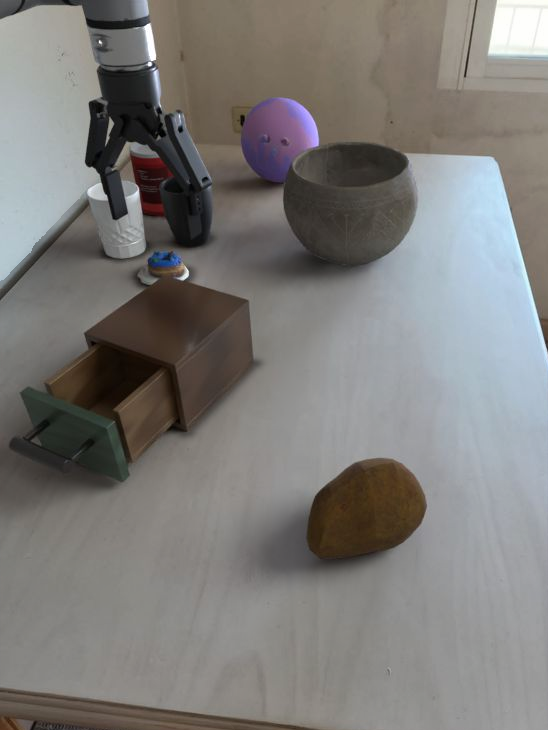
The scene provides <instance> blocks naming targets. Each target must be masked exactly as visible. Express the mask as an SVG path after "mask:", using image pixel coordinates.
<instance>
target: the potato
mask: <svg viewBox="0 0 548 730" xmlns="http://www.w3.org/2000/svg"><path fill="white" fill-rule="evenodd" d="M427 507H428V504H427V498H426V494H425V492H424V490H423V488H422V486H421V484H420V481H419V480H418V478H417V477H416V475H415V474H414V473H413V472H412V471H411V470H410V469H409V468H408V467H407V466H406V465H404V464H403V463H402V462H400V461H398V460H396V459H394V458H388V457H374V458H366V459H361V460H358V461H354V462H353V463H351V464H350V465H349V466H347V467H346V468H344V470H342V471H341V472H340V473H339V474H338V475H336V476H335V477H334V478H333V479H332V480H330V481H329V482H328V483H326V484H325V485H324V486H323V487H322V488H321V489H320V490H319V491H318V492H317V493H316V494H315V496H314V497H313V501H312V504H311V507H310V511H309V514H308V519H307V528H306V542H307V546H308V549H309V551H310V552H311V553H312V554H314V555H315V556H316V557H318V558H319V559H320V560H321V559H322V560H335V559H345V558H350V557H356V556H360V555H363V554H364V555H365V554H369V553H374V552H383V551H387V550H390V549H393V548H396V547H398V546H400V545H402V544H403V543H405V541H407V540H408V539H409V538H410V537H412V535H413V534H414V533H415V532H416V530H417V529H418V528H419V527H420V526H421V525H422V523H423V520H424V518H425V515H426V512H427V509H428V508H427Z"/></svg>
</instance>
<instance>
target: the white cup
mask: <svg viewBox="0 0 548 730" xmlns="http://www.w3.org/2000/svg"><path fill="white" fill-rule="evenodd" d="M121 182H122V186H123V191H124V196H125V200H126V205H127V210H128V214H127V215H125V216H123V217H122V218H120V219H118V220H113V219H112V215H111V211H110V206H109V202H108V198H107V195H105V193H104V191H103V187H102V183H101V182H98V183H96V184H93V185H92V186H90V187H89V188H88V189H87V190H86V196H87V199H88V203H89V207H90V210H91V213H92V218H93V220H94V223H95V227H96V229H97V232H98V236H99V238H100V240H101V243H102V248H103V250H104V252H105V255H106V256H108V257H111V258H112V259H131V258H135V257H137V256H140V255H141V254H143V253H144V252H145V250H146V248H147V240H146V234H145V223H144V216H143V210H142V207H141V201H140V194H139V187H138V186H137V185H136V183H135V182H132V181H129V180H123V179H121Z"/></svg>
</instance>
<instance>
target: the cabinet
mask: <svg viewBox="0 0 548 730" xmlns="http://www.w3.org/2000/svg"><path fill="white" fill-rule="evenodd" d="M250 311H251V310H250V300H249V299H246V298H243V297H240V296H236V295H233V294H230V293H226V292H223V291H220V290H216V289H213V288H209V287H206V286H203V285H200V284H196V283H193V282H190V281H185V280H179V279H176V278H173V277H169V276H166V275H164V276H163V277H161V278H160V279H158V280H157V281H156V282H154V283H153V284H151V285H149V286H147V287H146V288H144V289H143V290H142V291H140V292H138V293H137V294H136V295H134V296H133V297H132V298H130V299H128V300H127V301H126V302H124V303H123V304H122V305H120V306H119V307H118V308H116V309H115V310H113V311H112V312H111V313H110V314H108V315H107V316H105V317H104V318H102V319H100V321H99V322H97V323H96V324H94V325H92V326H91V327H89V329H87V330H86V331H84V332H83V336H84V339H85V342H86V346H87V350H88V349H89V348H91V347H92V346H93V345H95V344H96V343H99V344H102V345H105V346H107V347H110V348H113V349H116V350H119V351H122V352H124V353H127V354H130V355H133V356H136V357H138V358H141V359H144V360H147V361H150V362H152V363H155V364H158V365H161V366H164V367H166V368H169V369H170V370H171V375H172V380H173V385H174V391H175V396H176V401H177V406H178V412H179V418H178V419H177V420H176V421H175V422H174V423H173V424H172V425H171V427H175V428H177V429H180V430H183V431H185V432H189V430H190V429H191V428H193V426H194V425H195V424H196V423H197V422H198V421H199V420H200V419H201V418H202V417H203V416H205V414H206V413H207V412H208V411H209V410H210V409H211V408H212V407H214V405H216V403H217V402H218V401H219V400H220V399H221V398H222V397H223V396H224V395H225V394H226V393H227V392H228V391H229V390H230V389H231V387H233V386H234V385H235V384H236V383H237V381H238V380H239V379H241V377H242V376H243V375H245V373H246V372H247V371H249V369H250V368H251V367H252V366H254V364H255V362H254V348H253V336H252V335H253V334H252V325H251V323H252V322H251V312H250Z"/></svg>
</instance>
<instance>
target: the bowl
mask: <svg viewBox="0 0 548 730" xmlns="http://www.w3.org/2000/svg"><path fill="white" fill-rule="evenodd" d="M282 204H283V212H284V215H285V218H286V221H287V223H288V225H289V227H290V229H291V231H292V232H293V235H294V237H296V239H297V240H298V241H299V243H300V244H301V245H302V246H303V248H305V250H306V251H308V252H310V253H311V254H312V255H314V256H316V257H318V258H320V259H323V260H325V261H327V262H330V263H332V264H336V265H340V266H359V265H366V264H369V263H372V262H375V261H377V260H380V259H382V258H384V257H385V256H387V255H388V254H390V253H392V252H393V251H394V250H395V249H396V248H397V247H398V246H400V245H401V243H402V241H403V240H404V239H405V237H406V236H407V235H408V234H409V232H410V230H411V228H412V226H413V224H414V221H415V218H416V215H417V210H418V206H419V205H418V204H419V190H418V184H417V180H416V175H415V172H414V168H413V165H412V163H411V161H410V159H409V158H408V156H407V155H405V153H403V152H401V151H400V150H397V149H395V148H394V147H390V146H388V145H384V144H380V143H377V142H370V141H336V142H328V143H325V144H321V145H318V146H316V147H312V148H309V149H307V150H306V151H302V152H301V153H300V154H298V155H297V156H296V157H295V158H294V159H293V161H292V162H291V164H290V167H289V169H288V172H287V175H286V179H285V182H284V184H283V195H282Z"/></svg>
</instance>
